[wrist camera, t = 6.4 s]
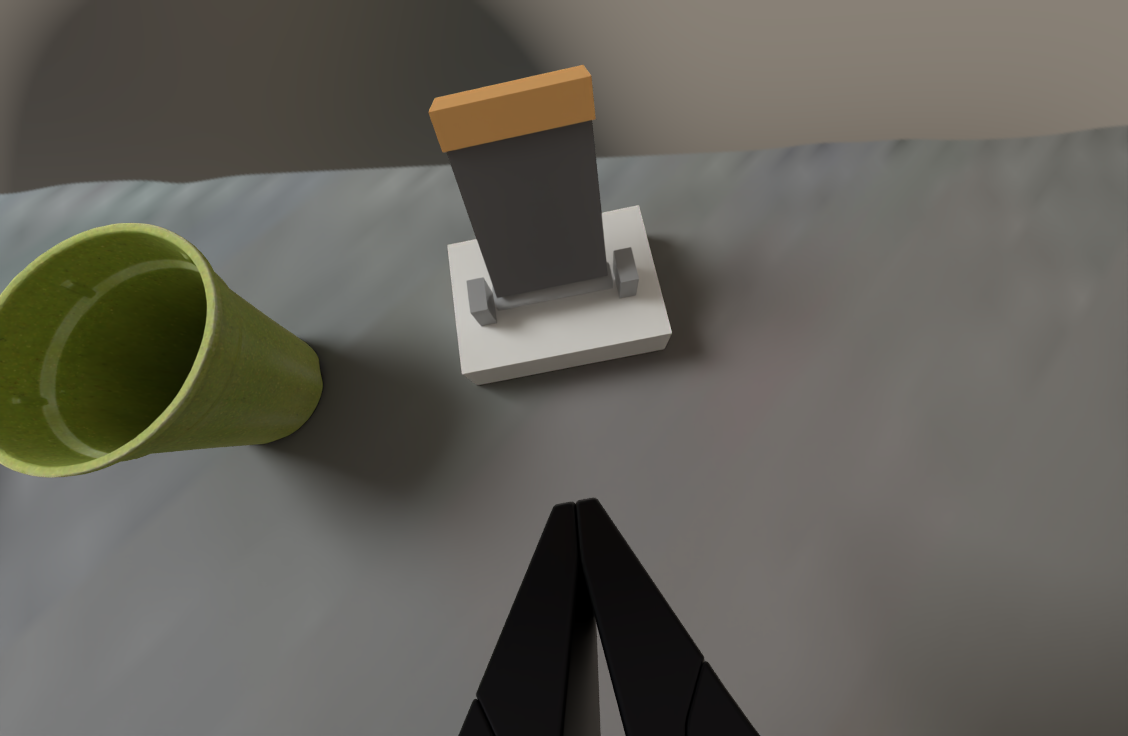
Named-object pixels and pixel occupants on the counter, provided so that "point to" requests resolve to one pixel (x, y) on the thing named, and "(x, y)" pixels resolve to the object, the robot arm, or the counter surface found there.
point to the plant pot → (139, 357)
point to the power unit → (561, 312)
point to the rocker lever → (530, 183)
